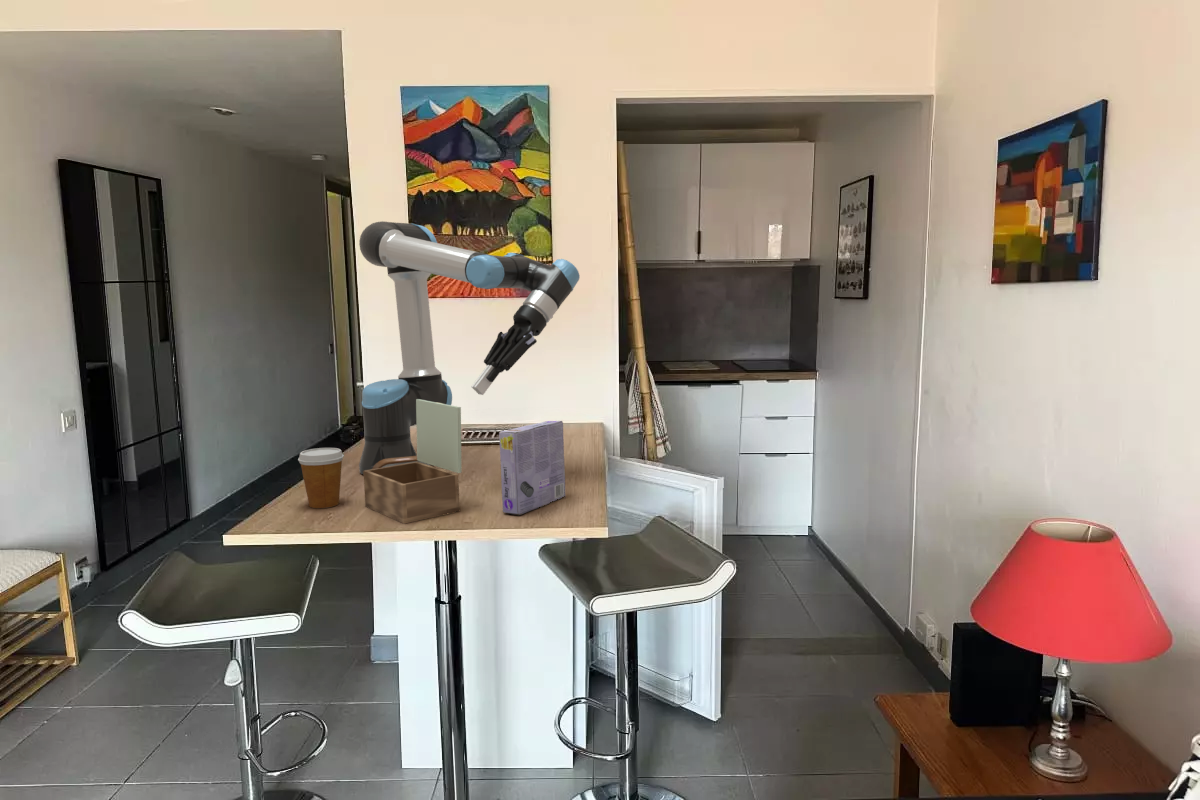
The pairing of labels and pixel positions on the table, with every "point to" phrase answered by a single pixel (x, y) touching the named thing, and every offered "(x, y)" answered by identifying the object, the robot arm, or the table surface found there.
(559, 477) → the cake pan box
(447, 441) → the lid
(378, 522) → the table surface
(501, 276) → the robot arm
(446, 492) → the walnut box
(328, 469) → the disposable coffee cup
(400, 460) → the tin
